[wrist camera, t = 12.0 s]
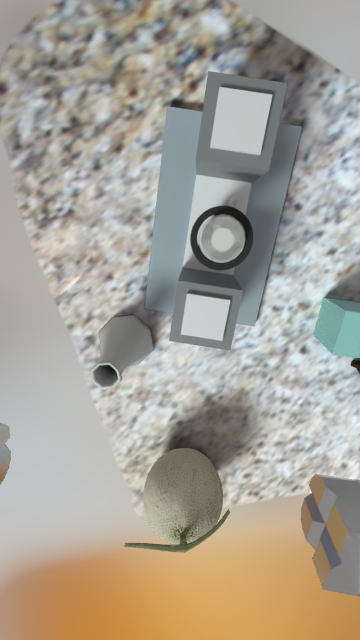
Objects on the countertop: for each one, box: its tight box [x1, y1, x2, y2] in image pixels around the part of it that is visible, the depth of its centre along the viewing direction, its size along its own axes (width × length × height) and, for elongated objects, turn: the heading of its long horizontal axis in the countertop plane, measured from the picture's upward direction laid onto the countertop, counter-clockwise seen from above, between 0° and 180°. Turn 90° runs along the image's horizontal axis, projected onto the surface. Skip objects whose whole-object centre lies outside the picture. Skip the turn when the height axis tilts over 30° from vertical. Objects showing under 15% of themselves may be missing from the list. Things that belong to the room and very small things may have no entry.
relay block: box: [313, 298, 360, 358], centre depth 36 cm, size 5×5×6 cm
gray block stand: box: [144, 71, 302, 350], centre depth 31 cm, size 14×22×10 cm, turn 172°
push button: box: [190, 198, 253, 270], centre depth 30 cm, size 7×5×10 cm
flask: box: [90, 315, 154, 389], centre depth 36 cm, size 7×7×10 cm
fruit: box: [125, 448, 230, 552], centre depth 39 cm, size 10×12×15 cm
